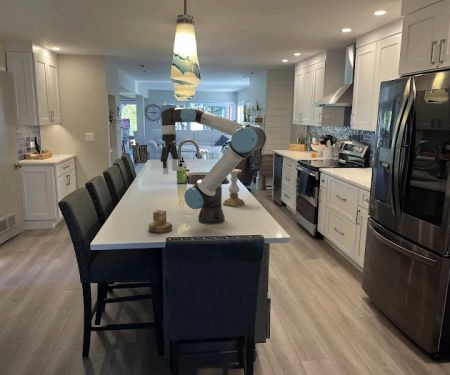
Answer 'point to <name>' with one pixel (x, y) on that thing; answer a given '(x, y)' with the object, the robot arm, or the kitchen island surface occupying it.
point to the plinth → (160, 228)
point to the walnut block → (159, 218)
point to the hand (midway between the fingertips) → (170, 172)
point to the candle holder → (234, 191)
